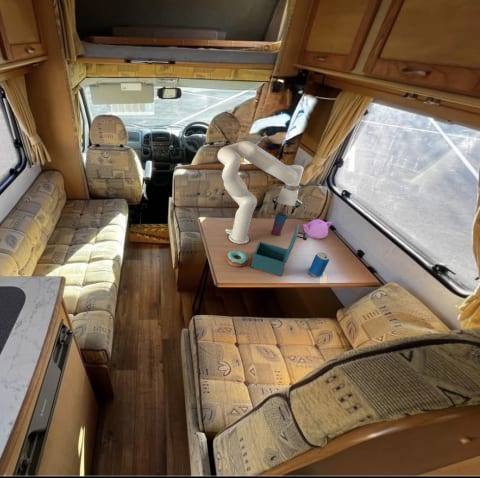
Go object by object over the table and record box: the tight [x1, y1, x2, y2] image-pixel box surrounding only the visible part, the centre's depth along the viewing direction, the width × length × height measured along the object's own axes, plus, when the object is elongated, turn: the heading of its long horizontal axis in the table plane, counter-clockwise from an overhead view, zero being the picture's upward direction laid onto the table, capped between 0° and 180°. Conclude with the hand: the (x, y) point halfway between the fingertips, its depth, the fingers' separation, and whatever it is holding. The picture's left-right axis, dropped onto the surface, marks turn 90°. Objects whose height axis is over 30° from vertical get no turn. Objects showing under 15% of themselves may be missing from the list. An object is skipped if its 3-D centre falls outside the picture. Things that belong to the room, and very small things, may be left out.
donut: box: [226, 249, 249, 268], centre depth 147 cm, size 12×12×4 cm
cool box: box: [250, 241, 288, 277], centre depth 144 cm, size 16×14×9 cm
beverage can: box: [308, 252, 330, 277], centre depth 137 cm, size 6×6×12 cm
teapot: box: [302, 218, 333, 240], centre depth 169 cm, size 14×20×11 cm
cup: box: [271, 210, 289, 237], centre depth 167 cm, size 7×7×15 cm
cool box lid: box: [285, 223, 308, 264], centre depth 132 cm, size 16×14×6 cm
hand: (283, 212), depth 162 cm, fingers open, 9 cm apart
